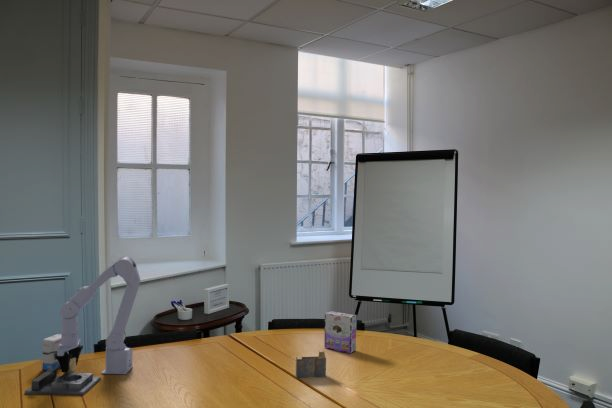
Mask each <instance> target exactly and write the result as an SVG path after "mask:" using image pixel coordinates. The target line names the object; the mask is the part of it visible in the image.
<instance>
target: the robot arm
mask: <svg viewBox="0 0 612 408" xmlns="http://www.w3.org/2000/svg"><path fill="white" fill-rule="evenodd" d="M118 276H119V277H121V278H122V280H123V281H124V282H125V284H126V287H125V290H124V293H123V295H122V298H121V302H120V305H119V308H118V310H117V314H116V317H115V321H114V323H113V326H112V329H111V330H110V331H109V333H108V336H107V337H106V340H105V346H106V347H105V368H104V369H103V370H102V371H101V374H102V375H104V374H105V375H126V374H128V372H129V371H130V370H131V369H133V367H134V366H133V348H131V347H128V346H127V345H126V344H125V342H124V341H125V340H126V335H127V334H126V329H127V325H128V322H129V319H130V316H131V312H132V309H133V307H134V304H135V300H136V296H137V295H138V294H137V293H138V291H139V287H140V284H141V277H140V274H139V271H138V266H137V263H136V262H135V261H134V260H133V258H132V257H130V256H126V255H124V256H122V257H120V258H118V261H115V262H113V263H112V264H111V265H109V266H108V267H107V268H106V269H105V270H104V271H103V272H101V274H99V275H98V277H96V278H95V279H94V281H93V282H92V283H91V284H90V285H85V286H82V287H79V288H78V289H77V292H76V293H74V295H73V296H72V297H69V298H68V299H67V301H66V302H65V303H64V304H62V306H61V308H60V309H59V310H60V312H59V314H60V316H61V333H60V334H61V344H59V345H58V347H60V348H59V350H58V351H57V354H55V357H56V359H57V360H58V362H59V364H60V367H59V368H60V371H61V373H63V372H68V370H69V363H70V359H71V357H72V356H75V357H76V366H78V362H79V358H80V355H81V353H82V351H83V348H84V346H83V345H81V344H82V339H81V338H79V314H78V313H79V312H80V310H82V309H83V308H84V307H85V306H87V304H89V302H91V301H92V300H93V299H94V298H95V296H96V291H97V290H98V289H99V288H101V287H102V286H103V285H104V284H105V283H106V282H107V281H108V280H110V278H111V279H112V278H115V277H116V278H117V277H118Z"/></svg>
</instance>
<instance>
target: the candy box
mask: <svg viewBox="0 0 612 408" xmlns="http://www.w3.org/2000/svg"><path fill="white" fill-rule="evenodd" d="M357 318H358V317H357V314H351V313H347V312H346V313H345V312H339V311H333V310H329V311H327V312H325V313H324V347H325V348H329V349H328V350H331V349H334V350H333V351H335V350H338V351H337V352H340V351H342V352H341V353H345V352H347V353H346V354H350V353H351V354H352V352H353V353H354V352H356V351H357V323H358V322H357ZM324 347H323V348H324ZM325 348H324V349H325ZM355 350H356V351H355Z"/></svg>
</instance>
